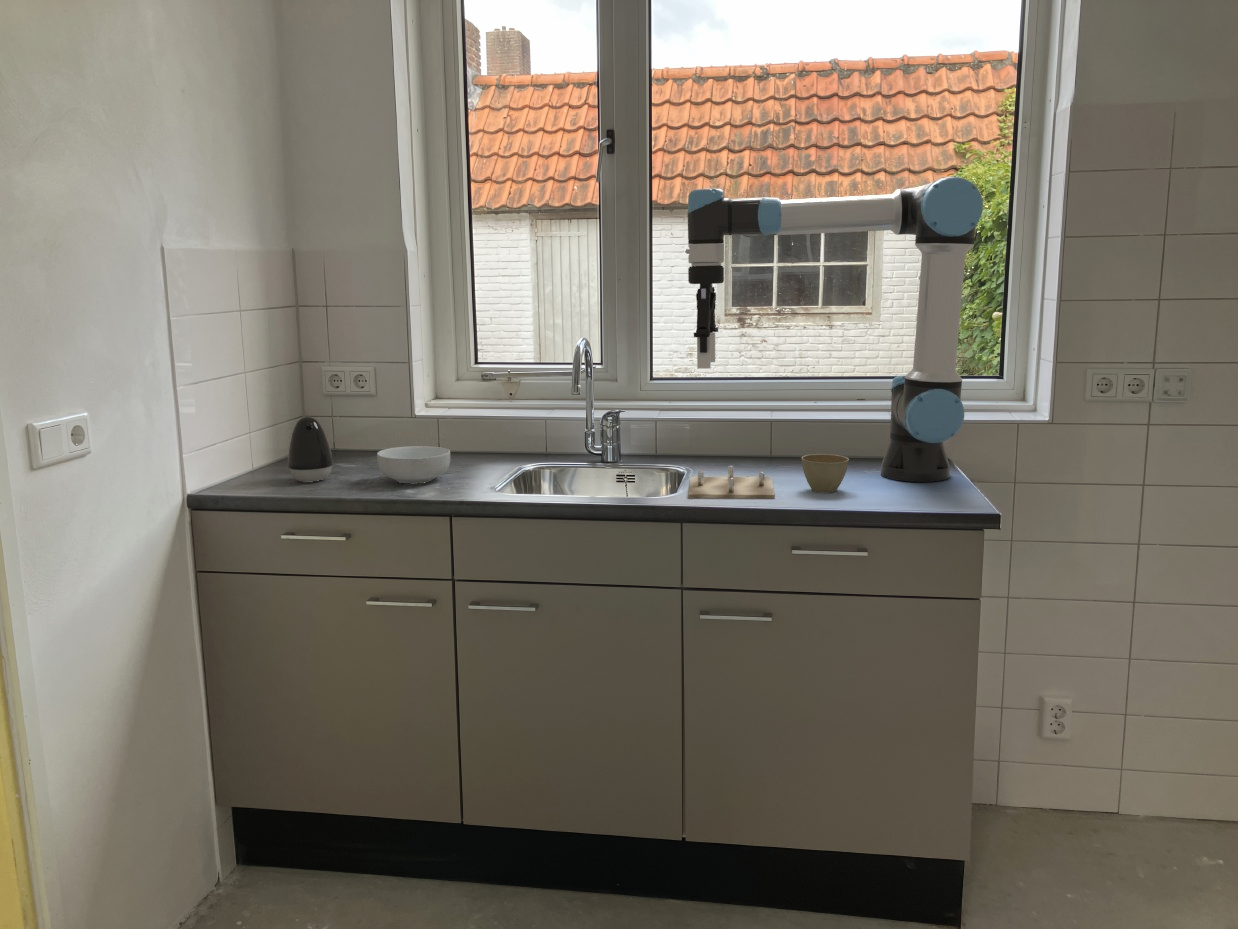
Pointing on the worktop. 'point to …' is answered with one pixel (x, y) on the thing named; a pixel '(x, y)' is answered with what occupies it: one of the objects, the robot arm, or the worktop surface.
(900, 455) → the robot arm
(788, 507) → the worktop surface
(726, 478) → the wooden peg board
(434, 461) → the cereal bowl
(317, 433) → the black egg-shaped dome
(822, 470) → the flower pot
